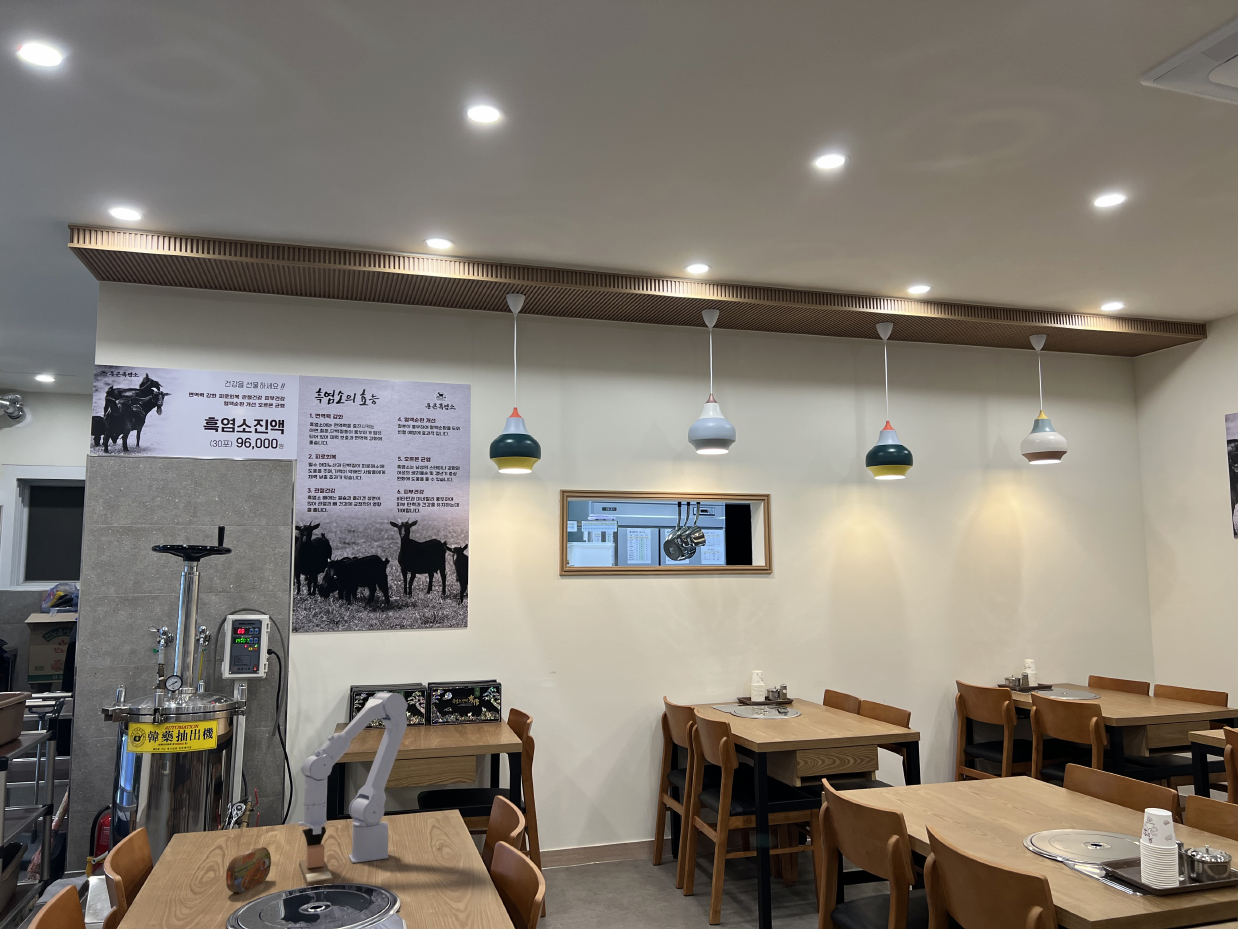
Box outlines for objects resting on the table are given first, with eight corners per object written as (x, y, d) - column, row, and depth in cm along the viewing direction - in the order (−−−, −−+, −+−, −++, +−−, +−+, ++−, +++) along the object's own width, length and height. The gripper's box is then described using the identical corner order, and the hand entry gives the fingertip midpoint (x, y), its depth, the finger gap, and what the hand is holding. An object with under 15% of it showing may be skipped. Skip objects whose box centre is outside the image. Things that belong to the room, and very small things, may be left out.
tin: (234, 897, 203) (235, 859, 204) (222, 897, 204) (224, 859, 205) (271, 878, 217) (273, 843, 219) (260, 878, 218) (262, 843, 220)
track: (322, 863, 230) (322, 857, 230) (333, 885, 211) (333, 878, 211) (299, 866, 228) (299, 860, 228) (307, 888, 208) (307, 882, 208)
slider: (322, 862, 224) (322, 844, 225) (323, 866, 220) (324, 847, 221) (305, 864, 222) (306, 846, 223) (307, 868, 219) (308, 849, 220)
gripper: (296, 800, 232) (294, 853, 230) (301, 810, 219) (299, 866, 217) (324, 797, 235) (322, 849, 233) (330, 807, 222) (328, 862, 220)
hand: (313, 857), depth 225 cm, fingers closed
